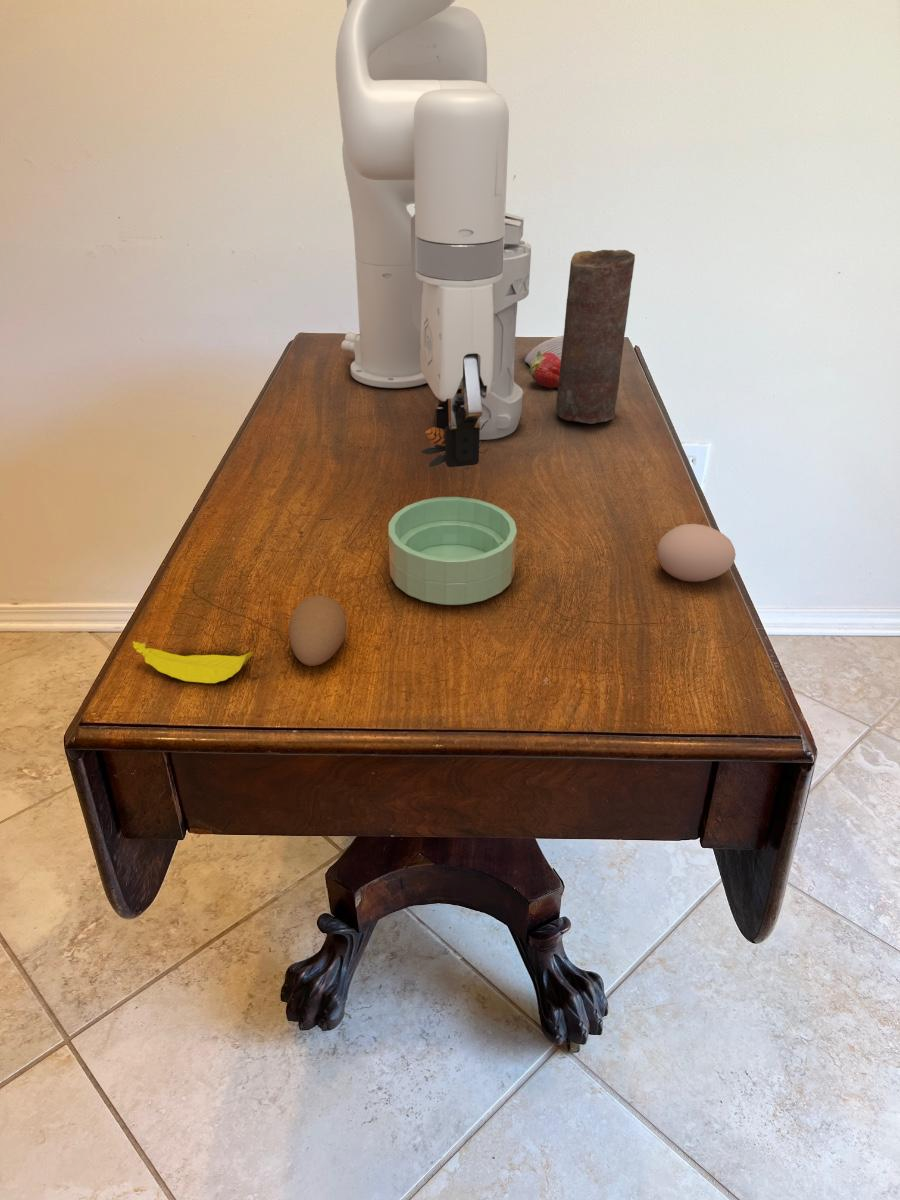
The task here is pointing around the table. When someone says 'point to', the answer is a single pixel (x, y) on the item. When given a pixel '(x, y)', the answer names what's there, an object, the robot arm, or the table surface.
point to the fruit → (546, 370)
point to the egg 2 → (695, 552)
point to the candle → (594, 334)
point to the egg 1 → (317, 629)
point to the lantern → (496, 329)
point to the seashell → (546, 349)
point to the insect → (438, 444)
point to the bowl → (452, 550)
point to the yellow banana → (193, 664)
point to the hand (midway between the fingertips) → (456, 453)
